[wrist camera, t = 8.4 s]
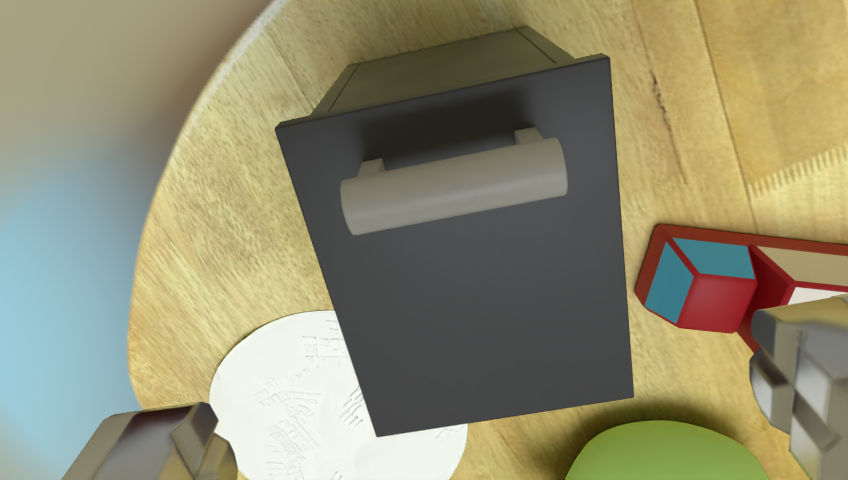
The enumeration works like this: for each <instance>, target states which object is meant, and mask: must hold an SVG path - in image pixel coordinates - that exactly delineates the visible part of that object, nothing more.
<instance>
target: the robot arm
mask: <svg viewBox="0 0 848 480" xmlns="http://www.w3.org/2000/svg"><path fill="white" fill-rule="evenodd" d="M751 335H752V337H753V338H754V339H755V340H756V342H757V343H758V344H759V345H760V347H759V349H758V350H757V351H756V352H755V354H754V355H753V356H752V357H751V359H750V382H751V386H752V390H753V394H754V398H755V400H756V402H757V404H758V406H759V408H760V410H761V412H762V413H763V415H764V416H765V418H766V419H767V420H768V422H769V423H770V425H771V426H773V427H775V428H777V429H779V430H781V431H783V432H785V433H787V434H789V435H790V442H789V451H790V453H791V454H792V455H793V457H794V458H795V459H796V461H797V462H798V463H799V465H800V466H801V468H802V469H803V470H804V472H805V473H806V474H807V476H808V477H809V478H810V480H848V293H846V294H840V295H835V296H831V297H830V298H825V299H819V300H813V301H807V302H801V303H796V304H790V305H784V306H778V307H772V308H766V309H760V310H755V313H754V315H753V317H752V320H751ZM218 421H219V420H218V418H217V416H216V414H215V412H214V411H213V409H212V407H211V405H210V404H207V403H204V402H195V403H188V404H181V405H174V406H167V407H160V408H153V409H145V410H142V411H134V412H127V413H122V414H115V415H112V416H110V417H109V418H106V419H104V420H103V421H102V423H101V424H100V426H99V427H98V429H97V430H96V431H95V433H94V434H93V435H92V437H91V438H90V440H89V441H88V443H87V444H86V445H85V447H84V448H83V450H82V451H81V453H80V454H79V455H78V457H77V458H76V460H75V461H74V463H73V464H72V465H71V467H70V468H69V469H68V471H67V472H66V474H65V475H64V477H63V478H62V479H61V480H237V473H238V466H237V462H236V457H235V453H234V451H233V449H232V446H231V444H230V442H229V441H227V440H226V439H224V438H223V437H221V436H220V435H218V434H216V433H215V430H216V427H217V424H218Z"/></svg>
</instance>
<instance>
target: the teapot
mask: <svg viewBox="0 0 848 480" xmlns="http://www.w3.org/2000/svg"><path fill="white" fill-rule="evenodd" d="M565 480H769V478H768V476H767V474H766V472H765V470H764V469H763V467H762V465H761V464H760V462H759V461H758V459H757V457H756V456H754V455H753V454H752V453H751V452H750V451H749V450H748V449H747V448H746V447H744V446H743V445H741V444H740V443H738V442H737V441H735V440H733V439H731V438H729V437H727V436H725V435H722V434H720V433H717V432H714V431H712V430H709V429H706V428H703V427H699V426H695V425H691V424H687V423H683V422H676V421H665V420H655V421H641V422H634V423H628V424H623V425H619V426H616V427H613V428H610V429H608V430H606V431H604V432H602V433H600V434H598V435H597V436H595V437H594V438H593V439H591V440H590V441H589V442H588V443H587V444H586V445H585V447H584V448H583V449H582V451H581V452H580V453H579V455H578V456H577V458H576V459H575V461H574V463H573V465H572V467H571V468H570V470H569V472H568V474H567V476H566V478H565Z"/></svg>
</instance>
